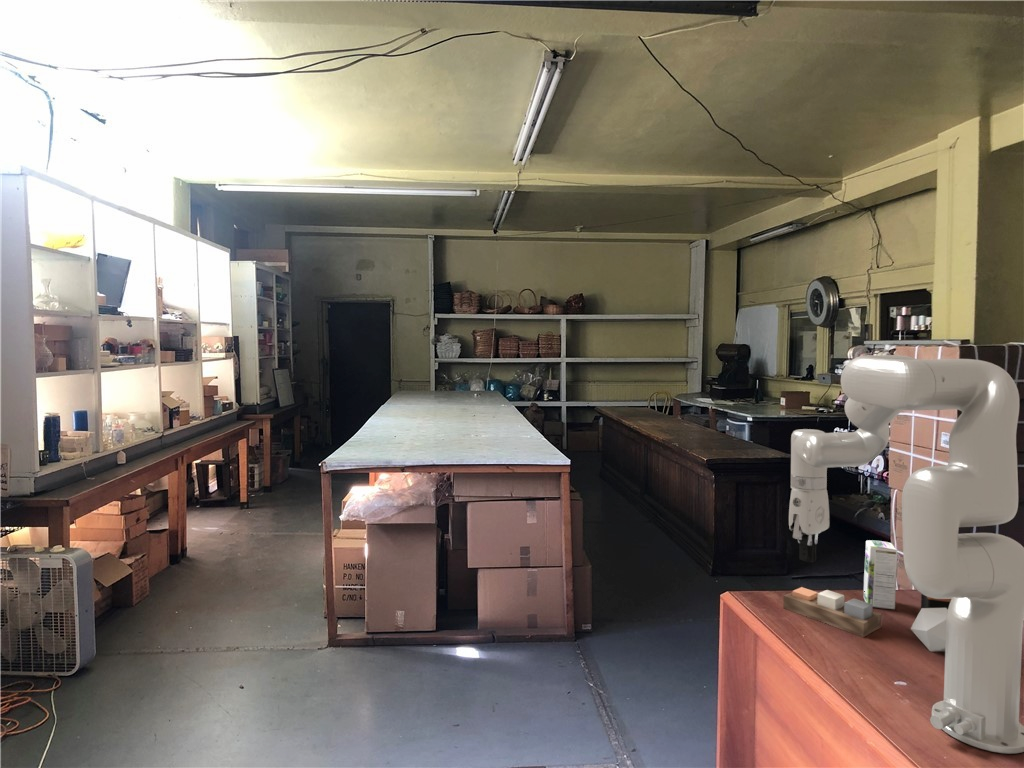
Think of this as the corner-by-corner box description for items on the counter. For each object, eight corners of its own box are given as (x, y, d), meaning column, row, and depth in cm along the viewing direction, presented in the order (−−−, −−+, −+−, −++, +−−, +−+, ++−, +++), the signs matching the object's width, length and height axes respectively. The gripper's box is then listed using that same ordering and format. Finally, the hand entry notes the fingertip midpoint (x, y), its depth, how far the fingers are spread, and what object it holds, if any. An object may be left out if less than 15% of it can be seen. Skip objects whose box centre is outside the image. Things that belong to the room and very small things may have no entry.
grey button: (872, 617, 132) (872, 604, 132) (863, 622, 130) (863, 608, 130) (853, 611, 136) (853, 598, 136) (844, 615, 133) (844, 602, 133)
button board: (881, 627, 133) (881, 613, 133) (863, 637, 128) (863, 623, 128) (801, 599, 148) (802, 587, 147) (783, 608, 143) (783, 595, 143)
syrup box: (862, 597, 149) (864, 539, 148) (890, 600, 147) (891, 541, 146) (867, 606, 143) (869, 546, 143) (896, 610, 141) (898, 549, 141)
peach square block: (817, 604, 142) (818, 592, 142) (808, 609, 140) (808, 596, 140) (801, 599, 146) (801, 587, 145) (792, 603, 143) (792, 590, 143)
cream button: (844, 608, 137) (844, 595, 137) (835, 612, 135) (835, 599, 135) (826, 602, 141) (826, 589, 140) (817, 606, 138) (817, 593, 138)
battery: (927, 624, 134) (929, 580, 134) (920, 612, 140) (921, 569, 140) (951, 627, 132) (952, 582, 132) (942, 615, 139) (944, 572, 138)
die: (965, 666, 118) (981, 620, 120) (923, 641, 119) (939, 597, 121) (937, 660, 125) (952, 618, 128) (897, 637, 127) (913, 595, 129)
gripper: (806, 489, 134) (805, 571, 135) (841, 481, 142) (839, 558, 143) (775, 484, 140) (774, 562, 141) (809, 476, 149) (808, 550, 149)
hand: (807, 560), depth 142 cm, fingers closed
